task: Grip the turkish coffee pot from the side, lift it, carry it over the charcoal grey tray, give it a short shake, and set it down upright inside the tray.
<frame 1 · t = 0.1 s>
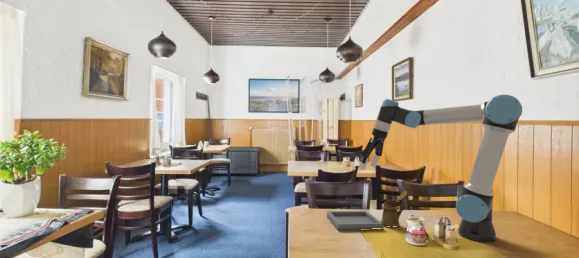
hand: (367, 167, 169), 28 cm above the table, tool tilted 20°, fingers open, 13 cm apart
grey tray: (353, 223, 165), on the table
turkish coffee pot: (394, 225, 163), on the table
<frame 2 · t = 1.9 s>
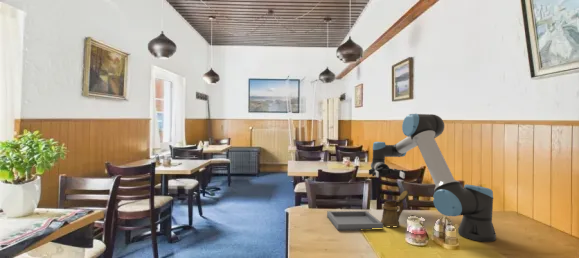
hand: (390, 175, 172), 23 cm above the table, tool horizontal, fingers open, 13 cm apart
nothing on the table moved.
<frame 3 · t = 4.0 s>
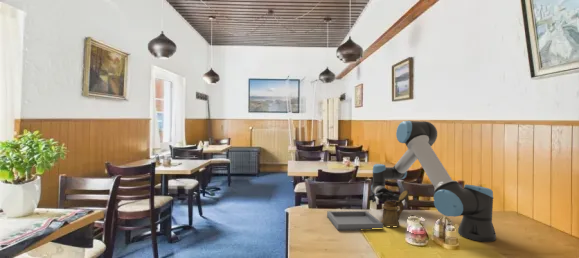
hand: (391, 202, 170), 10 cm above the table, tool horizontal, fingers open, 13 cm apart
nothing on the table moved.
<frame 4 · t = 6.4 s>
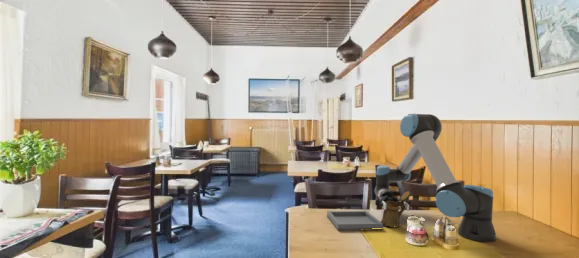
hand: (396, 207, 159), 10 cm above the table, tool horizontal, fingers closed on turkish coffee pot, 10 cm apart
turkish coffee pot: (394, 225, 163), on the table, touching gripper
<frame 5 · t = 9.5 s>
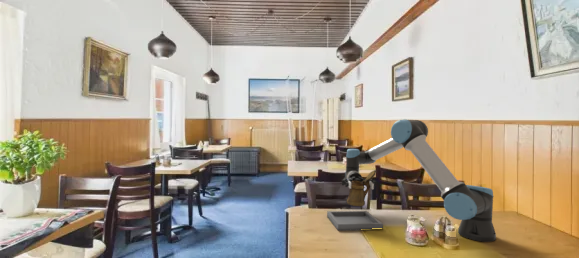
hand: (361, 186, 160), 20 cm above the table, tool horizontal, fingers closed on turkish coffee pot, 10 cm apart
turkish coffee pot: (359, 204, 165), point 9 cm above the table, touching gripper
when the fingers open (12 cm above the table, at t = 12.9 s): turkish coffee pot stays where it is, resting on grey tray.
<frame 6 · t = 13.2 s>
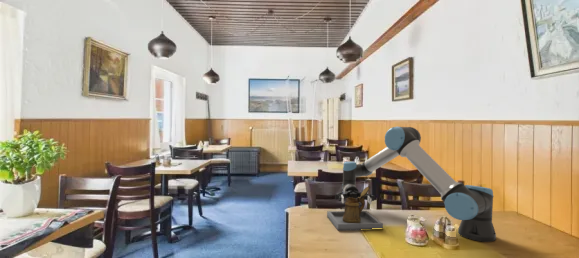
hand: (356, 201, 161), 12 cm above the table, tool horizontal, fingers open, 13 cm apart
turkish coffee pot: (355, 221, 165), point 1 cm above the table, touching grey tray
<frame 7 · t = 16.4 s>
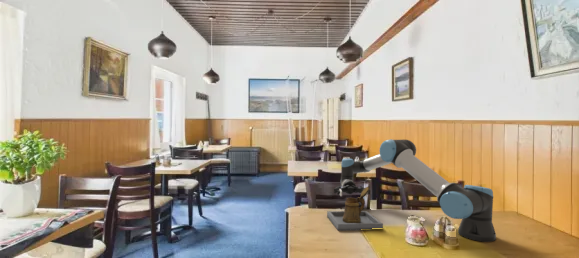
hand: (354, 194, 175), 12 cm above the table, tool horizontal, fingers open, 13 cm apart
nothing on the table moved.
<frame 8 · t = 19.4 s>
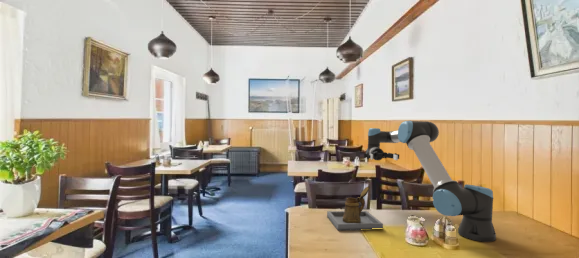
hand: (384, 157, 180), 32 cm above the table, tool horizontal, fingers open, 13 cm apart
nothing on the table moved.
at the end: turkish coffee pot inside the target area on the grey tray (1.4 cm from its centre), point 0.8 cm above the grey tray's base; turkish coffee pot tilted 0°; the gripper is holding nothing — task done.
